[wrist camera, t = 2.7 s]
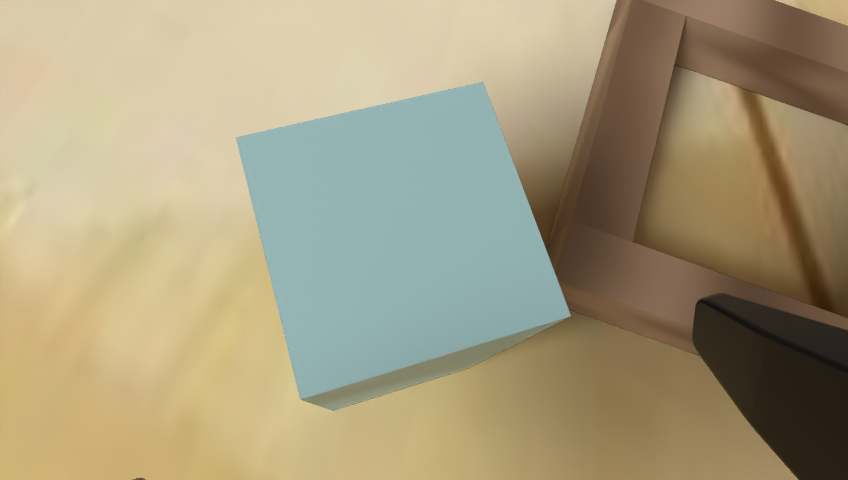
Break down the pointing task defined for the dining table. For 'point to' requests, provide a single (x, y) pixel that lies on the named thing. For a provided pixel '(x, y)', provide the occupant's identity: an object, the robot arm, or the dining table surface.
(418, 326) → the peg
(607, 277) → the socket collar
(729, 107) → the dining table surface
